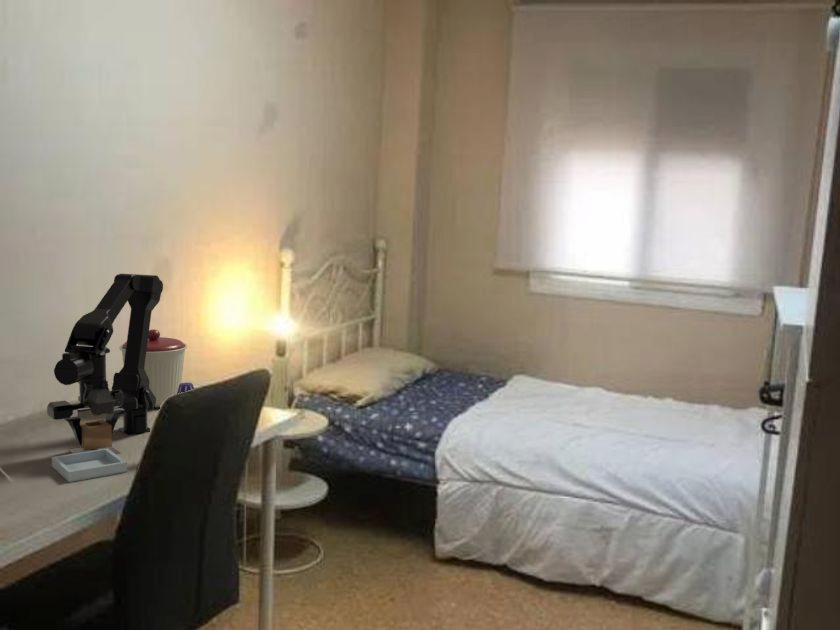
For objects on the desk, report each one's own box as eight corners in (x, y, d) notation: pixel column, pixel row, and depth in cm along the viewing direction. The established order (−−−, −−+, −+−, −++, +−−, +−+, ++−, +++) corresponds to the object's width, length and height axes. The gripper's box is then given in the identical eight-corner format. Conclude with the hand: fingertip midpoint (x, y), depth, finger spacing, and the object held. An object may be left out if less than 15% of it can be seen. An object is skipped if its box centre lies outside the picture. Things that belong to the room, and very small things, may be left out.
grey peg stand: (68, 451, 204) (67, 426, 203) (107, 445, 209) (107, 420, 208) (80, 461, 197) (80, 435, 196) (121, 454, 202) (120, 429, 201)
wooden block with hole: (73, 441, 205) (72, 420, 204) (99, 437, 209) (99, 416, 208) (85, 450, 198) (84, 428, 198) (111, 446, 202) (111, 425, 201)
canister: (201, 402, 251) (201, 329, 248) (151, 415, 236) (150, 337, 233) (157, 393, 261) (156, 322, 258) (106, 404, 246) (104, 329, 243)
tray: (52, 468, 191) (51, 456, 191) (107, 459, 199) (107, 448, 198) (69, 483, 182) (68, 472, 182) (126, 473, 189) (126, 462, 189)
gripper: (60, 387, 188) (62, 458, 190) (146, 377, 200) (147, 445, 202) (45, 377, 197) (47, 445, 199) (128, 368, 208) (129, 433, 210)
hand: (94, 442), depth 202 cm, fingers closed on wooden block with hole, 6 cm apart
